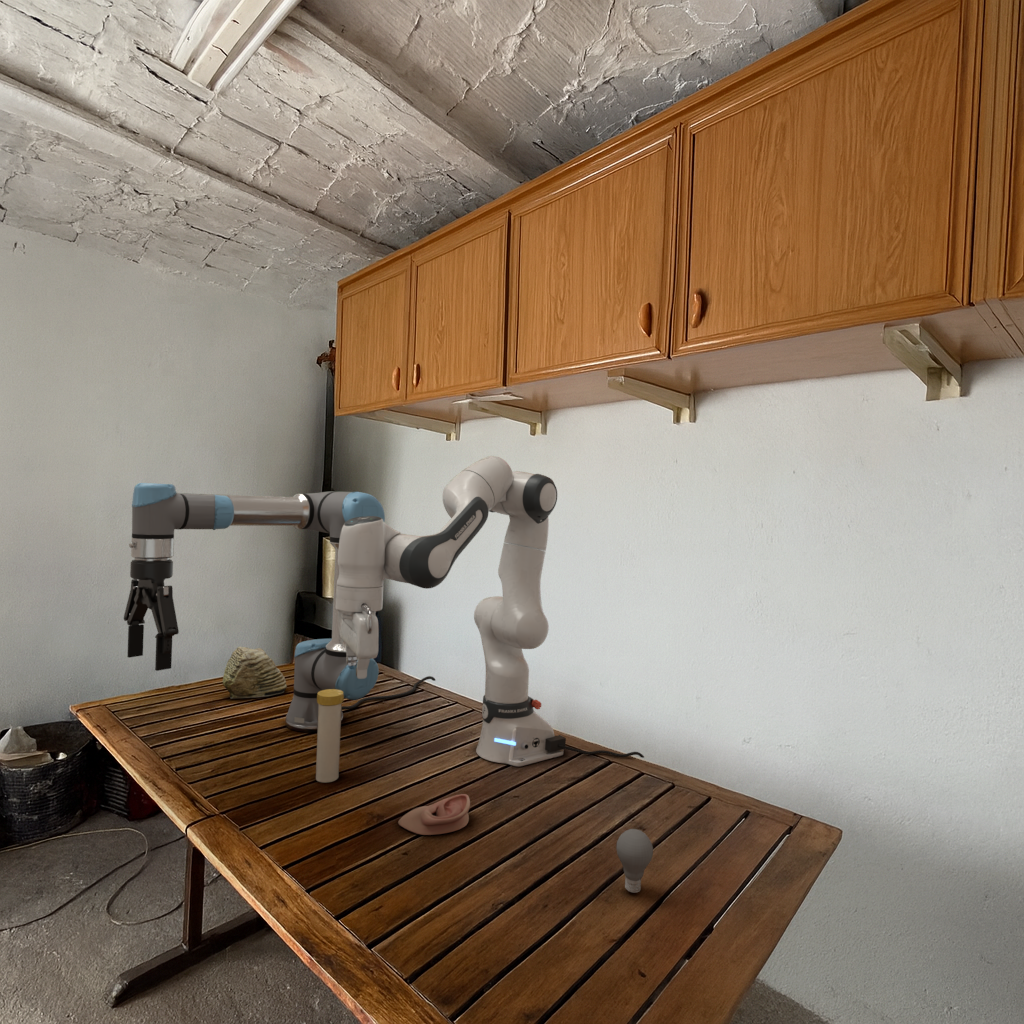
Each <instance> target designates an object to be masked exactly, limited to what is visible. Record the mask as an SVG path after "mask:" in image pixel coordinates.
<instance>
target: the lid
mask: <svg viewBox="0 0 1024 1024" xmlns="http://www.w3.org/2000/svg"><path fill="white" fill-rule="evenodd" d="M344 701H345V699H344V695H343V691H341V690H338V689H327V690H322V691H319V692H318V694H317V703H318V704H320V705H325V706H332V705H338V704H341V703H344Z"/></svg>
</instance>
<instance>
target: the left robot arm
mask: <svg viewBox="0 0 1024 1024" xmlns="http://www.w3.org/2000/svg"><path fill="white" fill-rule="evenodd" d="M385 515H386V513H385V511H384V508H383V505H382V503H381V502H380V501H379V500H378V498H377V497H375V495H373V494H370V493H367V492H363V491H362V492H361V491H337V490H336V491H335V490H333V491H332V490H330V491H321V492H311V493H295V494H294V495H293V496H276V495H275V496H274V495H273V496H272V495H248V494H247V495H246V494H244V495H243V494H220V493H219V494H218V493H217V494H216V493H215V494H214V493H189V492H187V493H186V492H177V491H176V486H175V485H174V484H173V483H152V482H139V483H137V484H136V485H135V486H134V488H133V492H132V501H131V520H132V521H131V542H130V543H128V547H129V548H130V549H131V550H130V556H131V558H133V559H132V560H131V561H130V567H129V568H130V571H129V574H130V575H129V576H130V578H131V581H130V590H129V594H128V598H127V603H126V607H125V610H124V615H123V621H124V622H126V624H127V626H128V629H127V630H128V631H127V658H135V657H142V656H144V635H145V634H144V630H145V625H144V624H145V623H146V621H145V619H144V618H145V616H146V615H147V612H148V609H149V610H151V613H152V618H153V620H154V624H155V627H156V631H157V633H156V635H155V636H154V638H155V661H154V663H155V665H154V668H155V669H154V670H155V671H157V672H159V671H164V670H169V669H172V659H173V657H172V655H173V637H175V636H176V635H179V632H180V631H179V625H178V619H177V615H176V614H177V613H176V609H175V603H174V597H173V595H174V593H173V585H165V580H167V579H171V578H172V577H173V575H174V573H173V572H174V561H173V560H172V559H171V558H173V557H174V554H175V553H174V552H175V530H213V531H215V530H224V529H228V528H230V526H233V527H234V526H237V527H238V526H240V527H243V526H246V527H247V526H249V527H250V526H258V527H259V526H268V527H269V526H276V527H277V526H282V527H284V526H285V527H286V526H287V527H288V526H289V527H290V526H291V527H293V528H294V529H296V530H308V531H309V530H310V531H316V532H319V533H325V534H329V544H330V545H331V546H332V547H333V548H334V550H335V551H334V572H333V573H334V577H333V599H332V625H331V626H332V627H331V638H317V639H308V640H304V641H300V642H299V643H297V645H296V646H295V650H294V655H293V657H294V672H293V673H294V674H293V695H292V696H293V697H292V699H291V702H290V704H289V708H288V711H287V713H286V715H285V726H286V728H287V729H289V730H291V731H294V732H295V731H296V732H301V733H317V731H318V705H319V704H318V703H317V694H318V692H319V691H322V690H327V689H338V690H341V691H343V695H344V700H348V701H349V700H350V701H356V702H355V703H354V704H352V705H348V706H347V705H342V706H341V724H342V723H343V722H344V714H343V711H344V710H353V709H355V708H356V707H358V706H359V705H361V704H362V703H366V702H368V701H369V702H370V701H377V700H389V699H397V698H401V697H404V696H408V695H410V694H412V693H413V692H415V691H416V690H417V686H418V685H420V684H422V683H423V682H426V681H427V680H432V681H434V682H436V679H435V677H434V676H431V675H428V676H425V677H423V678H420V680H418V681H417V682H415V683H414V684H413V686H412V689H409V690H408V691H405V692H401V693H396V694H390V695H377V696H369V697H365V696H367V695H368V694H370V692H371V690H372V689H374V687H375V685H376V683H377V682H378V678H379V674H380V672H379V671H380V670H379V669H380V668H379V665H378V663H377V662H376V660H375V658H373V659H370V662H369V665H368V669H367V677H366V678H365V679H358V678H357V676H356V668H357V664H356V665H355V666H349V665H348V664H347V663H346V660H347V655H346V647H345V644H346V643H345V642H344V641H343V639H342V638H341V637H340V634H339V623H338V610H337V609H336V601H335V599H336V589H337V580H338V577H339V565H338V550H339V540H340V534H341V530H342V527H343V525H344V523H345V522H346V521H348V520H349V519H352V518H355V517H362V516H363V517H364V516H377V517H380V518H382V519H383V521H384V523H386V521H385V520H386V516H385ZM357 700H358V701H357Z"/></svg>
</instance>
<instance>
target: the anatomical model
mask: <svg viewBox="0 0 1024 1024" xmlns="http://www.w3.org/2000/svg"><path fill="white" fill-rule="evenodd" d="M470 808H471V799H470V796H469V795H468V794H466V793H461V794H456V795H452V796H448V797H447V798H443V799H441V800H439V801H436V802H435V803H432V804H430V805H425V806H419V807H416V808H413V809H411V810H410V811H408V812H407V813H405V814H404V815H403V816H402V817H400V818H399V820H398V822H397V823H398V825H399V826H400V827H402V828H403V829H405V830H406V831H409V832H411V833H413V834H417V835H421V836H431V835H432V836H433V835H442V834H448V833H452V832H456V831H459V830H461V829H463V828H464V827H466V826H467V825H468V823H469V821H470V816H469V810H470Z"/></svg>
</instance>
